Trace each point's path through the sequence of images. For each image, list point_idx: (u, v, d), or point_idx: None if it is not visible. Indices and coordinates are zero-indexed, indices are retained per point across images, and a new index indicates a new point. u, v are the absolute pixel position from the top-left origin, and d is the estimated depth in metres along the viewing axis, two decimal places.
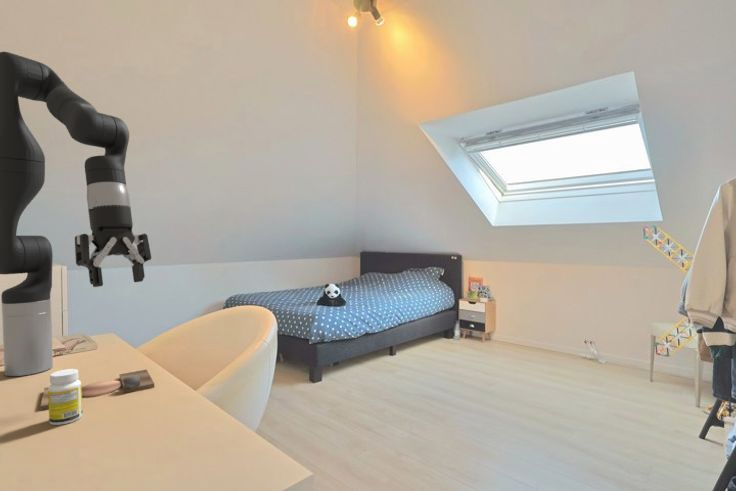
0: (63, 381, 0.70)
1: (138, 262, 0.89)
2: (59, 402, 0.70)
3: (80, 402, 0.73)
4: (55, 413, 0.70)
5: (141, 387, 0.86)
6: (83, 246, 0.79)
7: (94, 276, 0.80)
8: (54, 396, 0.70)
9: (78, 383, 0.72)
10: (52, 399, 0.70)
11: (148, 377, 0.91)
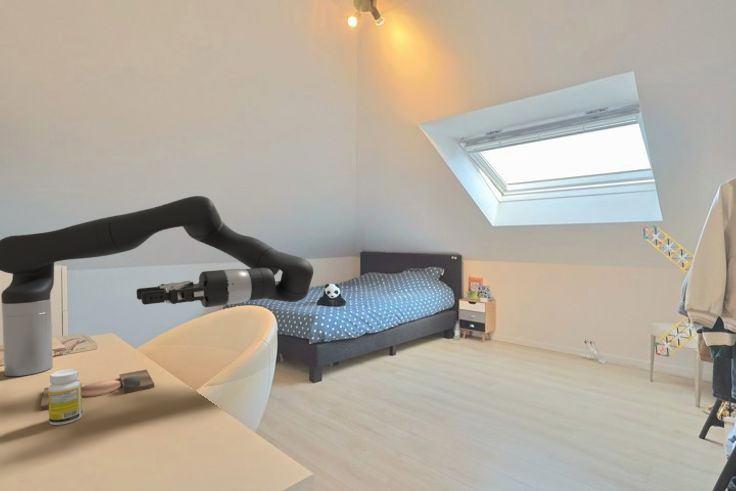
0: (63, 381, 0.70)
1: None
2: (59, 402, 0.70)
3: (80, 402, 0.73)
4: (55, 413, 0.70)
5: (141, 387, 0.86)
6: (191, 301, 0.78)
7: (154, 301, 0.76)
8: (54, 396, 0.70)
9: (78, 383, 0.72)
10: (52, 399, 0.70)
11: (148, 377, 0.91)
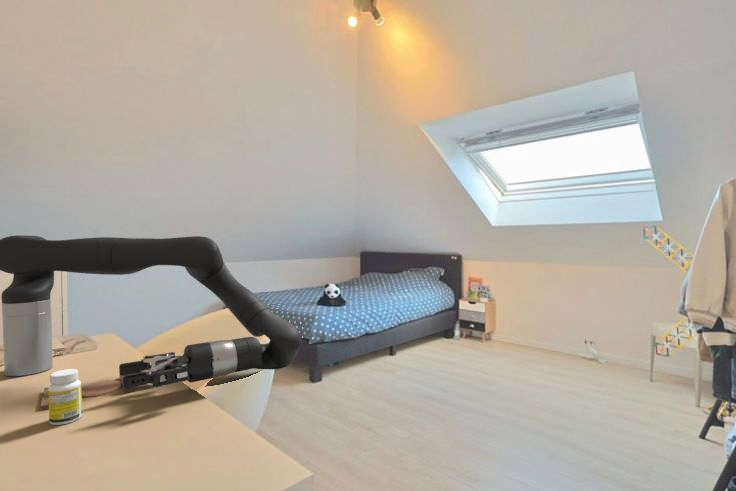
0: (63, 381, 0.70)
1: (143, 369, 0.83)
2: (59, 402, 0.70)
3: (80, 402, 0.73)
4: (55, 413, 0.70)
5: (141, 387, 0.86)
6: None
7: (136, 384, 0.74)
8: (54, 396, 0.70)
9: (78, 383, 0.72)
10: (52, 399, 0.70)
11: None
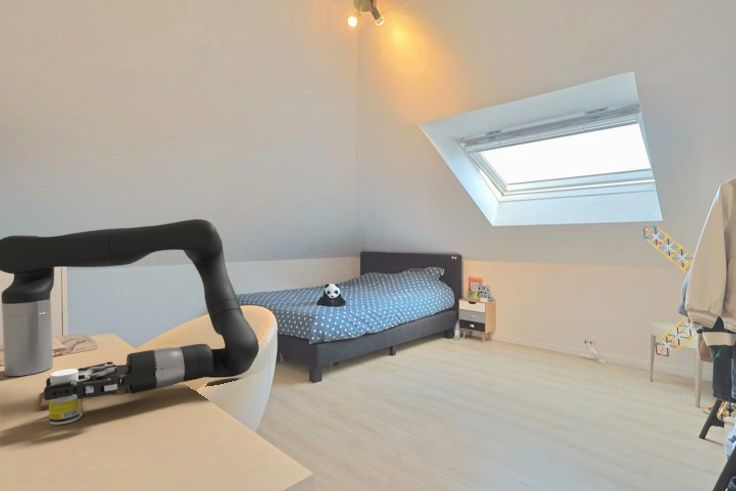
0: (63, 381, 0.70)
1: None
2: (59, 402, 0.70)
3: (80, 402, 0.73)
4: (55, 412, 0.70)
5: None
6: None
7: None
8: None
9: None
10: None
11: None
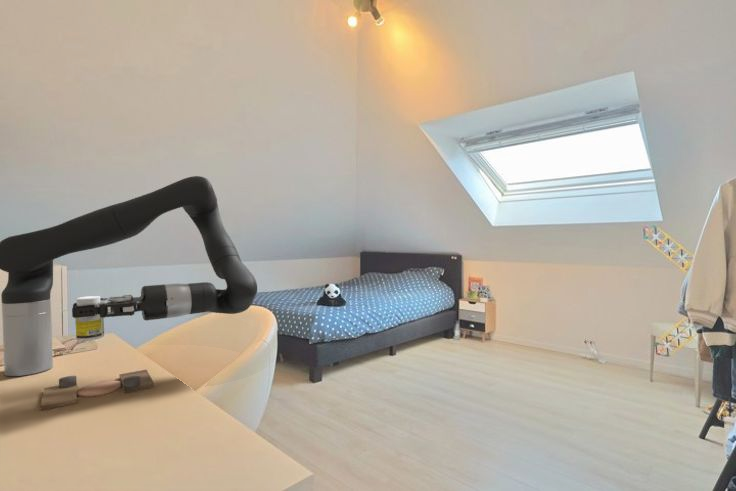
0: (88, 303, 0.82)
1: None
2: (84, 321, 0.81)
3: (102, 323, 0.84)
4: (81, 330, 0.81)
5: (141, 387, 0.86)
6: None
7: (84, 315, 0.80)
8: None
9: None
10: (79, 318, 0.81)
11: (148, 377, 0.91)
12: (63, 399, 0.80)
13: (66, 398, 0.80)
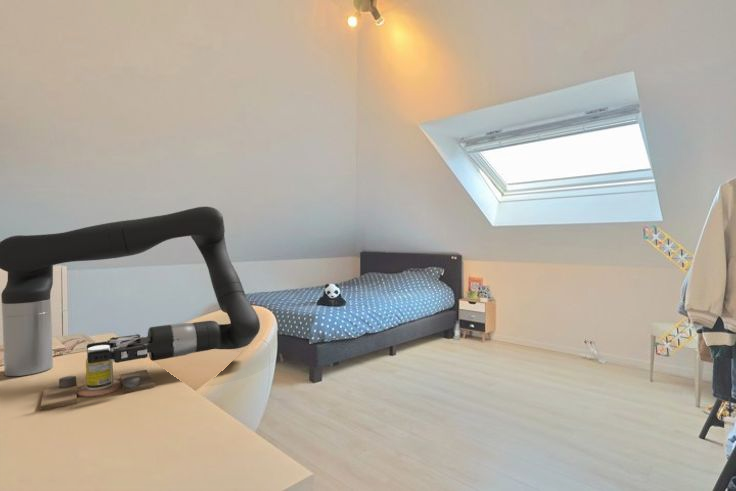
0: None
1: None
2: (95, 371, 0.85)
3: (111, 372, 0.88)
4: (92, 380, 0.85)
5: (141, 387, 0.86)
6: None
7: (99, 360, 0.83)
8: (91, 366, 0.85)
9: None
10: (89, 368, 0.85)
11: (148, 377, 0.91)
12: (63, 399, 0.80)
13: (66, 398, 0.80)
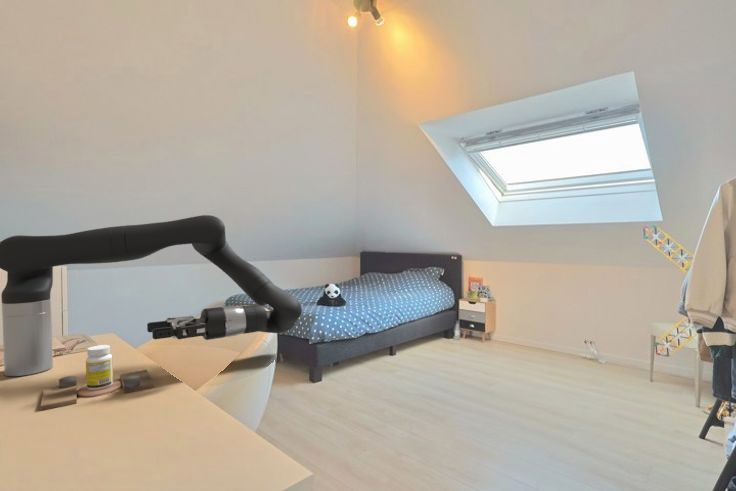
0: (98, 354, 0.85)
1: None
2: (95, 371, 0.85)
3: (111, 372, 0.88)
4: (92, 380, 0.85)
5: (141, 387, 0.86)
6: None
7: (163, 336, 0.89)
8: (91, 366, 0.85)
9: (110, 356, 0.87)
10: (89, 368, 0.85)
11: (148, 377, 0.91)
12: (63, 399, 0.80)
13: (66, 398, 0.80)
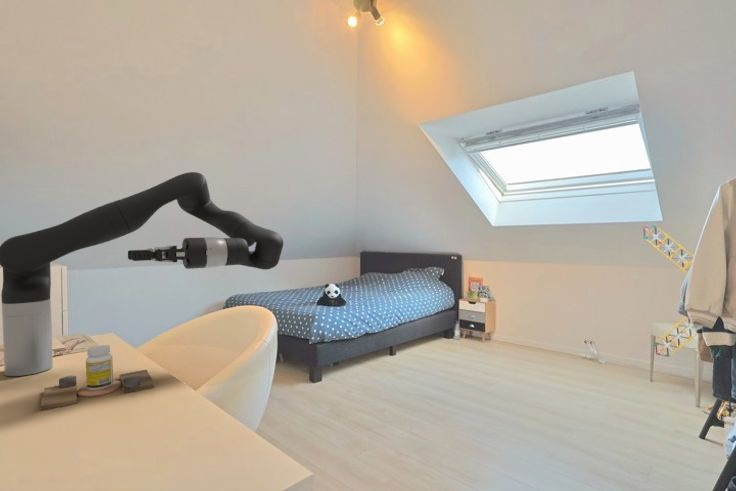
0: (98, 354, 0.85)
1: None
2: (95, 371, 0.85)
3: (111, 372, 0.88)
4: (92, 380, 0.85)
5: (141, 387, 0.86)
6: (173, 260, 0.92)
7: (142, 258, 0.90)
8: (91, 366, 0.85)
9: (110, 356, 0.87)
10: (89, 368, 0.85)
11: (148, 377, 0.91)
12: (63, 399, 0.80)
13: (66, 398, 0.80)
